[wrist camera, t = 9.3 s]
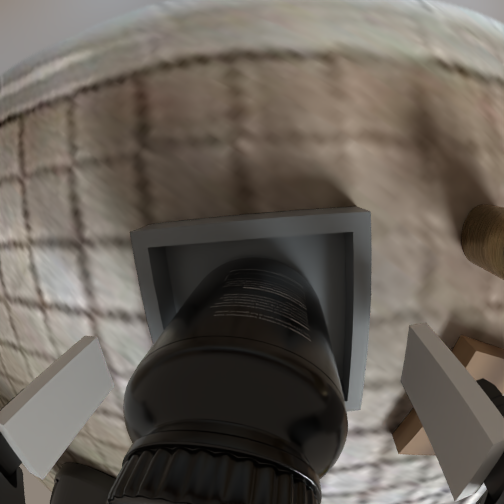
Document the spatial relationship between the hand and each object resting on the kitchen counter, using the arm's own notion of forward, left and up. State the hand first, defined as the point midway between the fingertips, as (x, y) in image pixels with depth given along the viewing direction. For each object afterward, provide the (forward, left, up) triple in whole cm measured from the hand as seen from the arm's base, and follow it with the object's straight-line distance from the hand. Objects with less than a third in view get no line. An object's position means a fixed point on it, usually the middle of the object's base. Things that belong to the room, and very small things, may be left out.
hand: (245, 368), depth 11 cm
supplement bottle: (0, 0, -5) cm, 5 cm away
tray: (0, 0, -5) cm, 5 cm away
